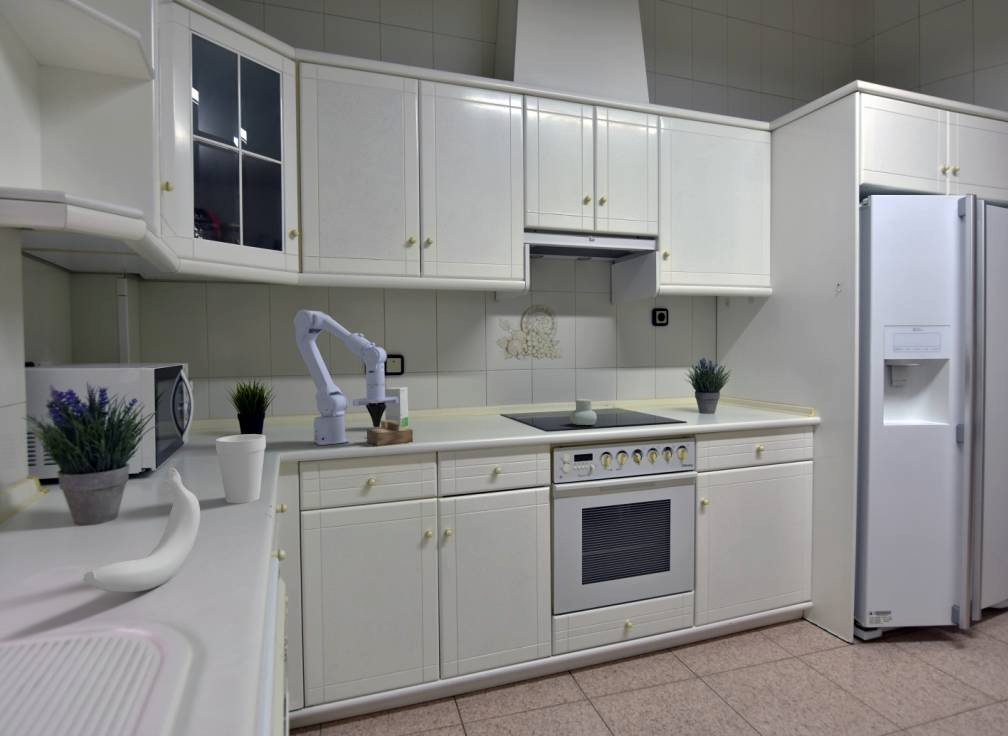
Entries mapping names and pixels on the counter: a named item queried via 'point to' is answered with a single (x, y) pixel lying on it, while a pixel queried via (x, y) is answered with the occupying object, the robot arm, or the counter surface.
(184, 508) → the banana
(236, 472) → the foam cup
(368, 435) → the brown wooden block
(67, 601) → the counter surface
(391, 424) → the lid
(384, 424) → the brown patterned block
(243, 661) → the counter surface
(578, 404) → the air freshener
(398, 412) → the skincare box
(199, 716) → the counter surface
